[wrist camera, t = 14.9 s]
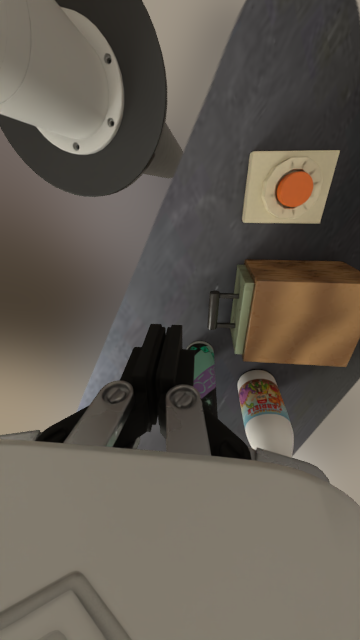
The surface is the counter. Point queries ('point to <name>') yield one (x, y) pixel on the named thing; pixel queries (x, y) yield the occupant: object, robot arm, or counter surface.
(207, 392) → the spray can
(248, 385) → the milk bottle
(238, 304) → the drawer
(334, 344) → the cabinet
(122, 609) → the robot arm
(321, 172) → the button box
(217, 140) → the counter surface
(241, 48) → the counter surface
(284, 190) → the button
